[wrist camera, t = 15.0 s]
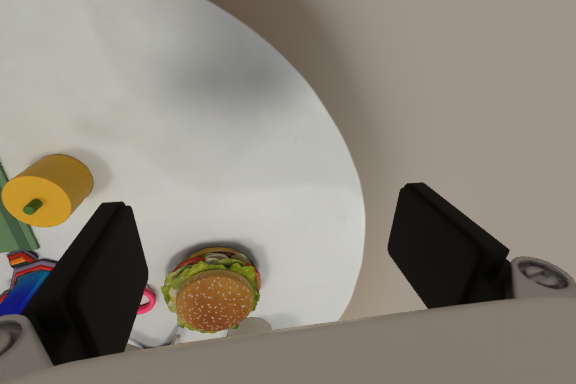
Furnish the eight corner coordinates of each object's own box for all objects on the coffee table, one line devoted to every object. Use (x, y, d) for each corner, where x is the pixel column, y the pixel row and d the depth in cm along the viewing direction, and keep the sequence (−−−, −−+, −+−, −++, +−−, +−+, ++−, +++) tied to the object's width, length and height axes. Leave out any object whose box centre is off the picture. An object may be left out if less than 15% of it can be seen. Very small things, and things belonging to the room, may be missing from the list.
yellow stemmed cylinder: (26, 155, 34) (-23, 184, 28) (85, 153, 35) (51, 181, 29) (45, 202, 37) (6, 238, 31) (99, 198, 38) (72, 233, 32)
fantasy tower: (107, 269, 43) (69, 347, 33) (86, 321, 47) (47, 404, 37) (8, 245, 39) (-72, 327, 28) (-5, 304, 43) (-78, 395, 33)
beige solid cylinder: (218, 341, 55) (216, 414, 44) (241, 312, 52) (244, 382, 42) (256, 351, 58) (262, 421, 48) (279, 324, 56) (291, 392, 45)
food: (165, 238, 43) (153, 278, 36) (263, 240, 46) (269, 278, 39) (167, 306, 49) (157, 352, 42) (253, 305, 52) (257, 346, 45)
